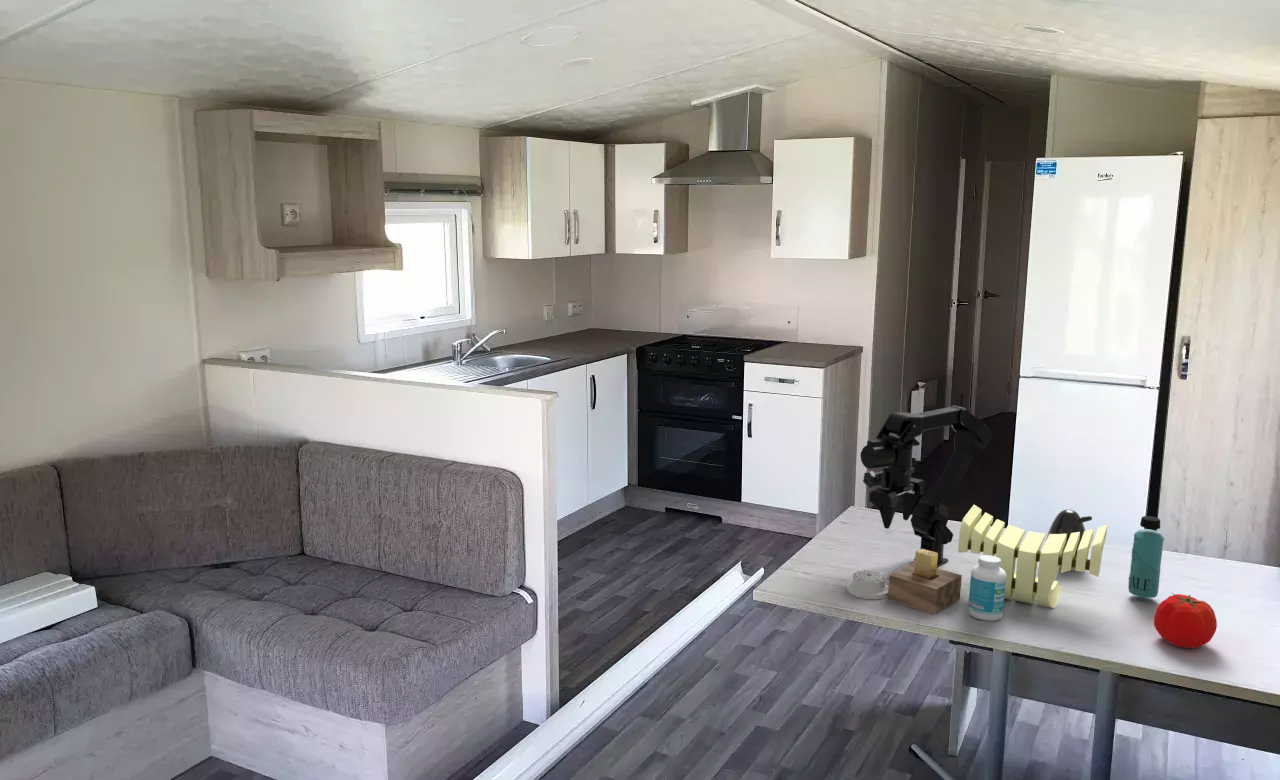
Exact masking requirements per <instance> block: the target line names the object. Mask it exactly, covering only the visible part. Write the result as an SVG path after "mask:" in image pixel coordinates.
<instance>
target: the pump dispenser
mask: <svg viewBox="0 0 1280 780" xmlns="http://www.w3.org/2000/svg"><path fill="white" fill-rule="evenodd" d="M1092 520H1093V516H1090V515H1089V516H1080V515H1079V513H1078V512H1076V511H1075V510H1073V509H1063V510H1062V511H1060V512H1059V513H1058V514H1057V515H1056V516H1055V518H1054V519H1053V521H1052V523H1051V525H1050V527H1049V529H1048V532H1047V535H1046V537H1045V542H1044V544H1045V543H1046V541H1047V539H1048V536H1049V534H1067V537H1066V543H1065V545H1064V548H1063V551H1062V555H1063V552H1064V550H1065V547H1066V545H1067V542H1068V540H1069V537H1070V535H1071V533H1076V532H1080V538H1079V542H1078V545H1077V548H1076V552H1075V556H1074V557H1077V550H1078V547H1079V545H1080V542H1081V539H1082V536H1083V534H1084V531H1086V529H1085V526H1084V523H1086V522H1089V521H1092ZM1061 569H1062V566H1061V565H1059V570H1061ZM1071 571H1075V568H1073V567H1072V568H1071Z"/></svg>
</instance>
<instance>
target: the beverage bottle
mask: <svg viewBox="0 0 1280 780" xmlns="http://www.w3.org/2000/svg"><path fill="white" fill-rule="evenodd" d="M1139 523H1140V527H1142V529H1139V530H1137V531H1136V532H1134V534H1133V543H1132V549H1131V554H1130V555H1131V560H1130V568H1129V575H1128V593H1129V594H1132V595H1133V596H1136V597H1139V598H1143V599H1144V598H1145V599H1153V598H1157V596H1158V594H1159V589H1160V579H1161V578H1160V577H1161V564H1162V556H1163V548H1164V541H1165V537H1164V536H1163V535H1162V534H1161V533H1160V532H1159V531H1157V530H1160V529H1161V519H1160V518H1158V517H1157V516H1151V515H1145V516H1142V517H1141V519H1140V522H1139Z"/></svg>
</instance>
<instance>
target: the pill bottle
mask: <svg viewBox="0 0 1280 780" xmlns="http://www.w3.org/2000/svg"><path fill="white" fill-rule="evenodd" d="M977 560H978V561H977V562H978V564H976V565H974V566H973V567H972V568H971V571H970V582H969V593H968V594H969V597H968V607H967V611H968V614H969V615H970V616H972V617H973V618H975V619H978V620H981V621H985V622H995V621H999V620H1001V619H1002V618H1003V615H1004V606H1005V599H1004V596H1005V585H1006V573H1005V571H1004V570H1003V569H1002V568H1000V565H1001V559H1000V558H998V557H996V555H995V556H991V555H983V554H982V555H980V556H979V557H978V559H977Z"/></svg>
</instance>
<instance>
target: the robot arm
mask: <svg viewBox="0 0 1280 780" xmlns="http://www.w3.org/2000/svg"><path fill="white" fill-rule="evenodd" d="M946 426H950V427H951V428H952V429H953V431H954V432H955V435H954V438H953V444H954V449H953V453H952V454H951V456H950V458H949V459H948V462H947V464H946V466H945V468H944V470H943V471H942V473H941V475H940V478H939V479H938V480H937V483H936V485H935V487H934V489H933V490H932V493H931V495H930V497H929V498H928V499H926V500H925V501H923V500H921V499H922V497H924V493H926V492H927V491H928V489H927V488H928V484H927V482H926V481H925V480H924V479H920V478H915V477H912V474H913V473H915V471H916V470H915V469H916V468H915V467H912V465H913V462H912V461H913V447H916V446H917V447H918V446H920V445H921V443H920V442H919V441H918V440H917V439H916V438H917V437H920V436H921V435H922V434H923V432H925V431H929V430H933V429H938V428H942V427H946ZM992 438H993V434H992V430H991V427H990V426H989V425H987V424H985V423H984V422H983V421H982V420H980V419H979V418H977V417H976V416H974V414H973V413H971V412H970V411H969V409H967V408H966V407H962V406H958V405H954V404H953V405H950V406H947V407H943V408H939V409H933V410H928V411H923V412H919V413H912V412H904V411H903V412H901V411H900V412H899V411H897V412H892V413H890V414H889V415H888V417H887V419H886V421H885V422H884V424H883V425H882V427H881V428H880V430H879V432H878V434H877V435H876V440H874V439H873V440H872V439H870V440H866V445H865V446H863V447H862V449H861V452H860V461H861V463H862V465H863V467H865V468H866V469H869V470H870V469H871V471H867V472H864V474H863V479H862V480H863V481H862V482H863V483H864V485H866V486H867V488H868V489H869V488H872V487H877V486H880V487H878V488H875V489H873V490H871V491H870V492H868V497H867V498H868V500H867V501H868V502H869V503H871V504H872V505H874V506H876V507H877V509H878V511H879V513H880V517H881V520H882V524H883V527H884V529H886V530H887V529H890V527H891V524H892V522H893V519H894V517H895V513H896V511H897V509H898V505H899V504H898V503H897V502H898V501H899V496H900V497H901V506H902V520H904V521H908V520H909V518H910V523H911V527H912V530H913V533H914V535H915V536H918V537H920V546H919V547H920V548H919V550H920V549H925V550H929V551H932V552H936V553H938V558H937V568H938V567H940V566H941V565H944V564H946V563H947V562H949V558H947V557H946V558H945V557H944V551H945V550H944V549H945V548H944V547H945V545H948V543H951V542H953V541H952V540H953V538H954V533H953V532H952V531H951V530H950V529H949V527H948V526H947V525H948V521H949V505H950V504H951V501H952V500H953V497H954V496H955V494H956V492H957V490H958V488H959V487H960V484H961V482H962V480H963V479H964V477H965V474H966V472H967V471H968V468H969V467H970V466H971V465H970V464H971V463H972V461H973V460H974V458H976V457H977V456H979V455H980V454H981V453H983V452H984V451H985V449H986V448H987V447H988V445H989V444H990V443H991V441H992ZM877 468H882V470H881V471H876V472H874V471H873V470H872V469H877ZM913 562H915V558H914V561H913Z"/></svg>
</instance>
